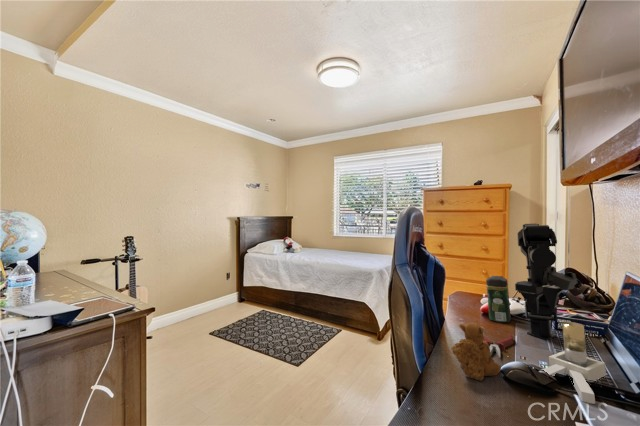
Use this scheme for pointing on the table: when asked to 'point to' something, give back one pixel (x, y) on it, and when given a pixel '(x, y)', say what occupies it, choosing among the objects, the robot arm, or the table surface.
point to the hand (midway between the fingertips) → (544, 311)
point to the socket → (577, 373)
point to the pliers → (499, 345)
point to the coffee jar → (498, 299)
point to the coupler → (574, 343)
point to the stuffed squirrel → (475, 353)
